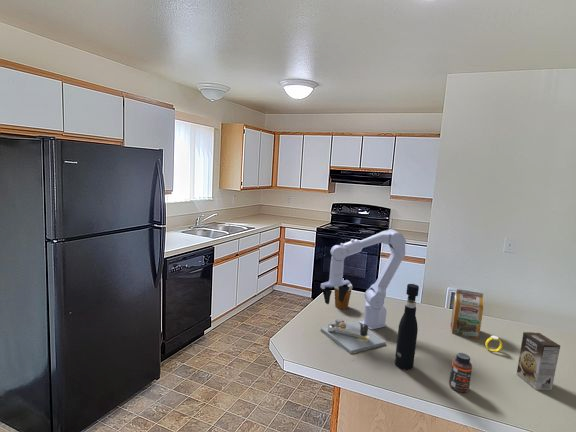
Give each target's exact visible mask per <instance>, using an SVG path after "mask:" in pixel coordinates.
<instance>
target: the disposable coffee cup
mask: <svg viewBox="0 0 576 432" xmlns="http://www.w3.org/2000/svg"><path fill="white" fill-rule="evenodd" d="M348 287H349V290H348V291H347V293H346V295H345V297H344V300H343V302H341V301H339V287H338V286H337V287H333V288H334V305H335V306H334V307H335V308H337V309H340V310H346V309H348V307H349V304H350V303H349V302H350V298H351V296H352V295H351V294H352V290H353V284H352V283H351V282H350V285H349V286H348Z"/></svg>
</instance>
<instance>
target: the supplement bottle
mask: <svg viewBox="0 0 576 432" xmlns="http://www.w3.org/2000/svg"><path fill="white" fill-rule="evenodd" d="M472 370H473V364H472V363H471V356H470V355H469V354H467V353H464V352H457V353H456V356H455V358H453V359H452V362H451V367H450V374H449V380H448V381H449V382H448V385H449V387H450V388H451V389H453V390H454V391H456V392H459V393H467V392H469V389H470V384H471V379H472Z"/></svg>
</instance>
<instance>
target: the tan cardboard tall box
mask: <svg viewBox="0 0 576 432" xmlns="http://www.w3.org/2000/svg"><path fill="white" fill-rule="evenodd" d="M452 304H453V305H452V311H451V319H450V329H451V334H453V335H458V336H463V337H467V338H471V339H478V340H479V339H480V332H481V327H482V319H483V312H484V293H483V292H479V291H474V290H467V289H461V288H456V290H455V293H454V298H453V303H452Z"/></svg>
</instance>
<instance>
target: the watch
mask: <svg viewBox="0 0 576 432" xmlns="http://www.w3.org/2000/svg"><path fill="white" fill-rule="evenodd" d="M490 341H499V345H498V347H496V348H495V349H493V348H489V346H488V345H489V343H490ZM484 344H485V347H486V349H487V350H488V351H489V352H496V353H497V352H500V351H501V350H502V348H503V342H502V340H501V339H500V338H499V336H497V335H490V337H488V338H487V339H486V341H485V343H484Z"/></svg>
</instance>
